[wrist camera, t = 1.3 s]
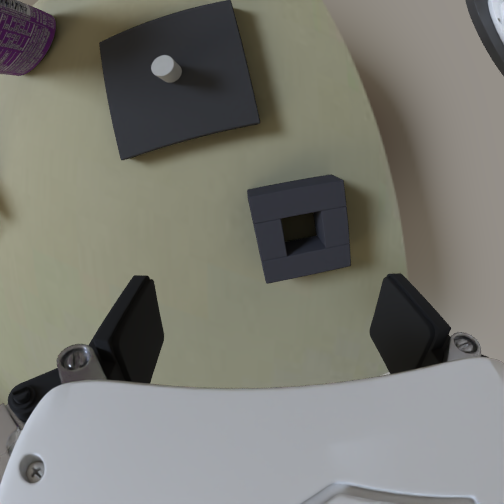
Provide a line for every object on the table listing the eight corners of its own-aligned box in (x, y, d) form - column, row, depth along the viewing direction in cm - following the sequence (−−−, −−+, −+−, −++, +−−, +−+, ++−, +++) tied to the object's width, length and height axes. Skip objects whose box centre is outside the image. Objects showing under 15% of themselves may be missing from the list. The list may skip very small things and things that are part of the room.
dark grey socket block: (331, 174, 22) (343, 179, 19) (340, 251, 24) (351, 266, 22) (247, 189, 22) (247, 197, 19) (263, 267, 25) (266, 284, 22)
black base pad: (231, 6, 16) (229, -15, 12) (259, 123, 20) (262, 120, 16) (106, 46, 16) (84, 34, 13) (128, 159, 21) (106, 164, 17)
